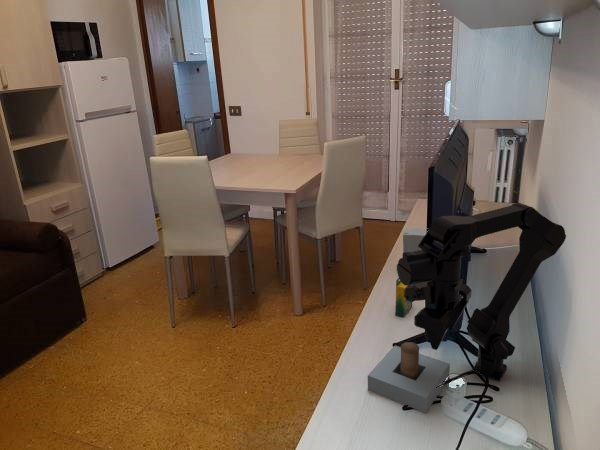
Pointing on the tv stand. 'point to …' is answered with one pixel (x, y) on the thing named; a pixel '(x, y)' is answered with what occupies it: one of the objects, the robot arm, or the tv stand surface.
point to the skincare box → (412, 239)
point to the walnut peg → (409, 360)
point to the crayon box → (401, 300)
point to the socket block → (408, 380)
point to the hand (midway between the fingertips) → (442, 338)
